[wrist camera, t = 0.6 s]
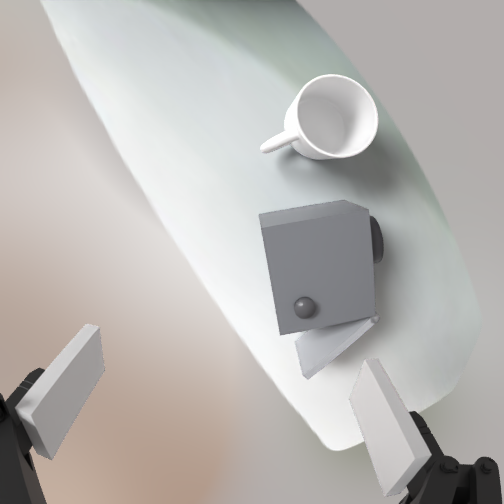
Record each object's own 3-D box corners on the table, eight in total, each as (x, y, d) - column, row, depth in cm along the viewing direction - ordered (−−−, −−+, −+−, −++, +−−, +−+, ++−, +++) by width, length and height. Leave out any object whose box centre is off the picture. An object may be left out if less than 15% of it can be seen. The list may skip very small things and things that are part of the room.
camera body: (258, 214, 39) (261, 229, 30) (359, 197, 38) (391, 207, 29) (274, 302, 42) (280, 340, 33) (367, 284, 42) (395, 315, 32)
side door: (294, 341, 43) (302, 375, 36) (355, 287, 41) (376, 312, 34) (302, 348, 44) (311, 381, 36) (362, 294, 42) (383, 320, 34)
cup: (358, 145, 37) (391, 139, 27) (274, 182, 38) (282, 188, 28) (330, 87, 35) (355, 64, 25) (244, 123, 36) (242, 108, 26)
